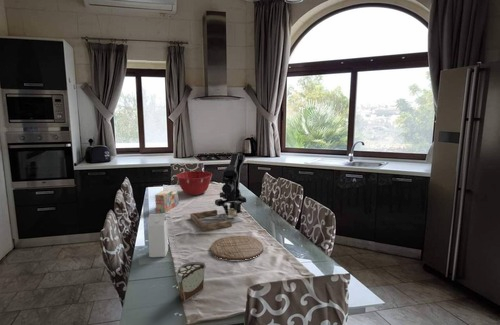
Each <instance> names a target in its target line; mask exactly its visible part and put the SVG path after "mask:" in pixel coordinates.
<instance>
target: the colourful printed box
mask: <svg viewBox="0 0 500 325" xmlns="http://www.w3.org/2000/svg"><path fill="white" fill-rule="evenodd" d="M177 204H178V205H179V192H178V191H175V190H174V191H173V190H167V189H166V190H165V189H163V190H162V191H159V192H158V193H156V194H155V212H156V213H155V214H166V213H167V212H169V211H170V210H172V209H173V208H174V207H176V206H178V205H177Z"/></svg>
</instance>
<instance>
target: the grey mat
mask: <svg viewBox="0 0 500 325" xmlns="http://www.w3.org/2000/svg"><path fill="white" fill-rule="evenodd" d="M219 217H220V218H222V219H223V220H224V221H229V220H231V221H232V224H234V223H240V222H244V220H243V219H241V218H240V217H239V216H238V215H236V217H232V218H228V217H227V216H226V214H222V215H219Z"/></svg>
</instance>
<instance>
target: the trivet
mask: <svg viewBox="0 0 500 325" xmlns="http://www.w3.org/2000/svg"><path fill="white" fill-rule="evenodd" d="M211 252H212V253H211ZM263 252H264V244H263V242H262V241H261V240H259V239H257V238H255V237H252V236H248V235H247V236H246V235H229V236H224V237H221V238H218V239H216V240H214V241H213V242H212V243H211V245H210V253H211V254H212V256H213V257H215V256H216V257H215V258H217V257H218V258H217V259H219V258H222V259H227V260H245V259H250V258H253V257H256V256H257V257H259V256H261V255H262V254H263ZM260 254H261V255H260ZM258 255H259V256H258ZM257 257H256V258H257ZM222 259H221V260H222ZM253 259H254V258H253ZM227 260H226V261H227ZM250 260H251V259H250ZM245 261H246V260H245Z"/></svg>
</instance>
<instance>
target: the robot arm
mask: <svg viewBox="0 0 500 325" xmlns="http://www.w3.org/2000/svg"><path fill="white" fill-rule="evenodd" d="M245 159H246V158H245V155H243V154H240V153H236V152H235V153H231V155H230V162H229V165H228V166H227V167H225V170H224V171H223V176H222V182H224V184H223V185H222V187H221V191H222V192H221V191H220V192H219V199H218V198H217V199H215V201H214V205H216V206H217V207H223V210H224V212H225V215H228V209H231V208H233V209H235V210H236V214H238V213H242V212H243V211H242V210H241V209H242V208H241V206H242V204H243V203H247V197H245V196H243V195H242V192H241V189H240V178H241V168H242V167H243V165H244V162H245V161H246V160H245ZM228 204H229V206H228Z"/></svg>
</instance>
